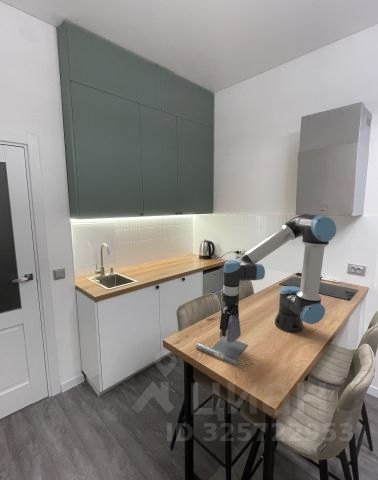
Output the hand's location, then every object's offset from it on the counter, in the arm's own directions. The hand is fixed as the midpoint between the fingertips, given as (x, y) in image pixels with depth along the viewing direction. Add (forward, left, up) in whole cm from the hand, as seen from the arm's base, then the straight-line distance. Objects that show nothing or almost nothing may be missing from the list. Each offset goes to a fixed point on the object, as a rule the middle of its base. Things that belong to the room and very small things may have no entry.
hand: (229, 337), depth 121 cm
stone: (0, 0, -1) cm, 1 cm away
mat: (0, 0, -6) cm, 6 cm away
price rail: (+2, +9, -6) cm, 11 cm away
